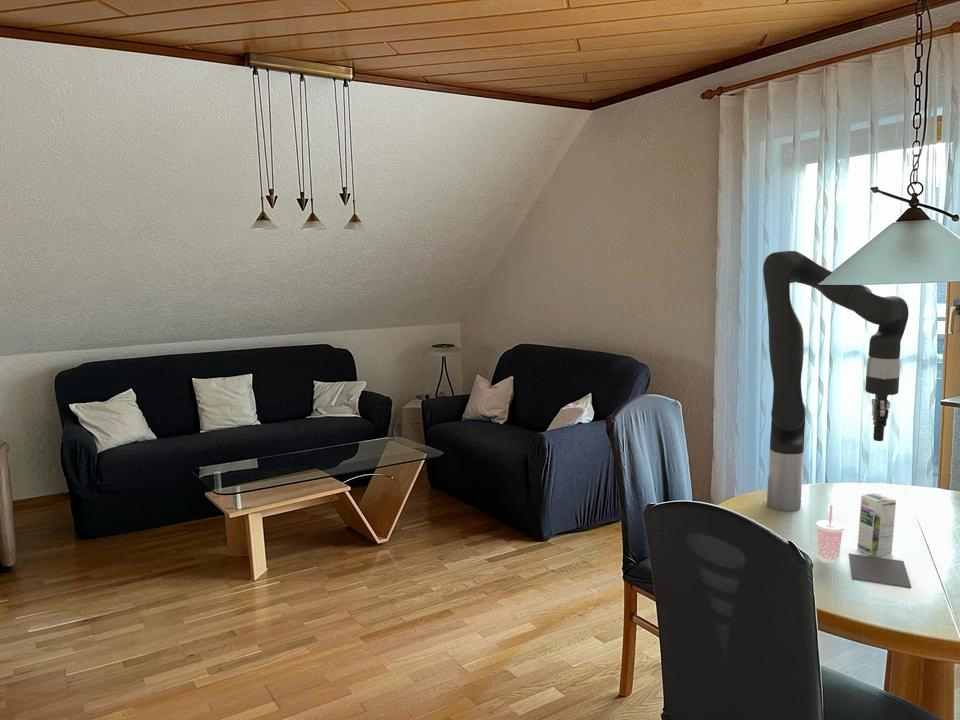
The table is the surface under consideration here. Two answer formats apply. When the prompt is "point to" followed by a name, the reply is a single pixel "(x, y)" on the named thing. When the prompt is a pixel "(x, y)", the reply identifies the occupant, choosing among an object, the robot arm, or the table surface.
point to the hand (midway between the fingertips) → (878, 440)
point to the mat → (879, 570)
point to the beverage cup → (829, 539)
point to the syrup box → (876, 525)
